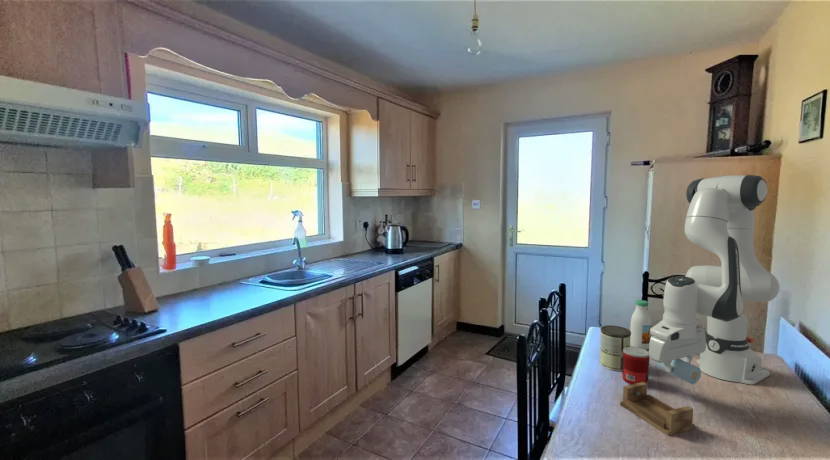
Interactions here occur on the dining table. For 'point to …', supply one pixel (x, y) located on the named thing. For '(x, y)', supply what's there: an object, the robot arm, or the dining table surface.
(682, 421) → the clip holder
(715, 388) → the dining table surface
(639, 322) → the milk bottle
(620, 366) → the coffee can
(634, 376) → the canned food
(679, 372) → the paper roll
